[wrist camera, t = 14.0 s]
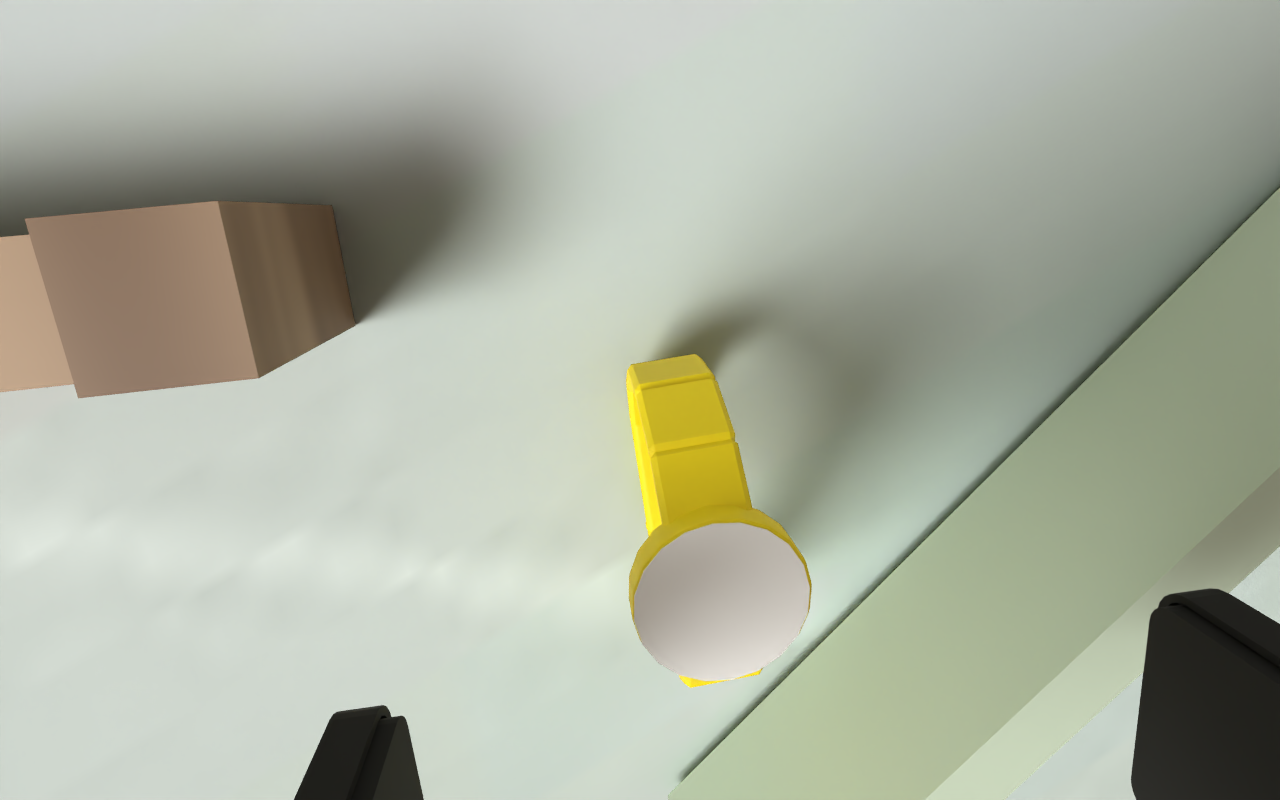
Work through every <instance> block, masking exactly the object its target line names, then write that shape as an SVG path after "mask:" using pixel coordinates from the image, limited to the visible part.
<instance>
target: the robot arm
mask: <svg viewBox="0 0 1280 800" xmlns="http://www.w3.org/2000/svg"><path fill="white" fill-rule="evenodd" d="M1131 784H1132V788H1133V792H1134V795H1135V797H1136V800H1280V624H1279V623H1277V622H1275V621H1274V620H1272V619H1270V618H1269V617H1267V616H1265V615H1264V614H1262V613H1260V612H1259V611H1257V610H1255V609H1254V608H1252V607H1250V606H1249V605H1247V604H1245V603H1244V602H1242V601H1240V600H1239V599H1237V598H1235V597H1234V596H1232V595H1230V594H1229V593H1227V592H1224V591H1222V590H1220V589H1212V588H1209V589H1201V590H1194V591H1187V592H1180V593H1173V594H1169V595H1167V596H1164V597H1163V598H1162V600H1161V601H1160V602H1159V606H1158V608H1157V609H1155V610H1154V611H1153V612H1152V613H1151V616H1150V620H1149V628H1148V637H1147V646H1146V654H1145V663H1144V672H1143V680H1142V689H1141V697H1140V706H1139V715H1138V723H1137V732H1136V741H1135V749H1134V758H1133V767H1132V775H1131ZM294 800H424V799H423V794H422V789H421V785H420V780H419V776H418V771H417V766H416V762H415V757H414V752H413V748H412V743H411V738H410V734H409V729H408V725H407V721H406V719H405V717H403V716H397V717H391V714H390V711H389V710H388V708H387V707H386V706H384V705H382V706H375V707H368V708H361V709H353V710H346V711H339V712H336V713H335V714H333V716H332V717H331V719H330V720H329V723H328V725H327V727H326V729H325V732H324V734H323V736H322V738H321V740H320V743H319V745H318V747H317V749H316V752H315V754H314V756H313V758H312V760H311V763H310V765H309V767H308V769H307V772H306V774H305V776H304V778H303V781H302V783H301V785H300V787H299V789H298V792H297V794H296V796H295V798H294Z"/></svg>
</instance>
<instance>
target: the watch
mask: <svg viewBox="0 0 1280 800" xmlns="http://www.w3.org/2000/svg"><path fill="white" fill-rule="evenodd" d="M626 383H627V384H626V385H627V395H628V405H629V415H630V421H631V427H632V433H633V440H634V446H635V452H636V459H637V465H638V471H639V478H640V484H641V490H642V497H643V503H644V509H645V516H646V528H647V529H648V536H649V537H648V538H647V540H646V541H645V542H644V543H643V545H642V546H641V547H640V549H639V550H638V552H637V555H636V558H635V561H634V563H633V566H632V569H631V571H630V576H629V601H630V607H631V613H632V619H633V622H634V625H635V627H636V630H637V633H638V636H639V638H640V640H641V642H642V644H643V646H644V647H645V648H646V649H647V650H648V651H649V653H650V654H651V655H652V656H653V657H654V658H655V660H656V661H657V662H658V663H659V664H661V665H663V666H665V667H666V668H668V669H670V670H671V671H673V672H675V673H677V674H678V675H679V677H680V679H681V680H682V681H683V682H684V683H685V684H686V685H687V686H689V687H690V688H691V687H697V686H702V685H707V684H712V683H717V682H722V681H727V680H733V679H738V678H743V677H748V676H753V675H758V674H760V672H761V670H762V669H763V667H765V666H766V665H768V664H769V663H771V662H772V661H774V660H775V659H777V658H778V657H780V656H781V655H782V654H783V652H784V651H785V650H786V649H787V648H788V647H789V645H790V644H791V643H792V642H793V641H794V640H795V639H796V637H797V636H798V634H799V633H800V631H801V628H802V626H803V624H804V622H805V619H806V617H807V615H808V612H809V609H810V599H811V579H810V576H809V572H808V568H807V564H806V561H805V559H804V557H803V556H802V554H801V553H800V551H799V550H798V548H797V547H796V545H795V544H794V542H793V541H792V539H791V538H790V537H789V535H788V534H787V533H786V531H785V530H784V528H783V527H782V526H781V525H780V524H779V523H778V522H776V521H775V520H773V519H772V518H770V517H769V516H767V515H766V514H764V513H763V512H761V511H760V510H757V509H754V508H752V505H751V500H750V496H749V491H748V487H747V482H746V478H745V474H744V469H743V465H742V460H741V456H740V451H739V447H738V443H736V442H735V432H734V429H733V426H732V424H731V421H730V418H729V415H728V412H727V409H726V406H725V403H724V400H723V397H722V394H721V391H720V388H719V386H718V383H717V381H715V376H714V375H713V373H712V372H711V371H710V369H709V368H708V367H707V365H706V364H705V362H704V361H703V360H702V358H700V357H699V356H698V355H696V354H691V355H685V356H679V357H673V358H667V359H661V360H655V361H649V362H643V363H637V364H631V366H630V367H629V368H628V370H627V378H626Z"/></svg>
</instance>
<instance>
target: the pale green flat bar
mask: <svg viewBox="0 0 1280 800" xmlns="http://www.w3.org/2000/svg"><path fill="white" fill-rule="evenodd" d="M1279 546H1280V188H1279V189H1278V190H1277V191H1276V192H1275V193H1274V194H1273V195H1272V196H1271V197H1270V198H1269V199H1268V200H1267V201H1266V202H1265V203H1264V204H1263V205H1262V206H1261V207H1260V208H1259V209H1258V210H1257V211H1256V212H1255V213H1254V214H1253V215H1252V216H1251V217H1250V218H1249V219H1248V220H1247V221H1246V222H1245V223H1244V224H1243V225H1242V226H1241V227H1240V228H1239V229H1238V230H1237V231H1236V232H1235V233H1234V234H1233V235H1232V236H1231V237H1230V238H1229V239H1228V240H1227V241H1226V242H1225V243H1224V244H1222V245H1221V246H1220V247H1219V248H1218V249H1217V250H1216V251H1215V252H1214V253H1213V254H1212V255H1211V256H1210V257H1209V258H1208V259H1207V260H1206V261H1205V262H1204V263H1203V264H1202V265H1201V266H1200V267H1199V268H1198V269H1197V270H1196V271H1195V272H1194V273H1193V274H1192V275H1191V276H1190V277H1189V278H1188V279H1187V280H1186V281H1185V282H1184V283H1183V284H1182V285H1181V286H1180V287H1179V288H1178V289H1177V290H1176V291H1175V292H1174V293H1173V294H1172V295H1171V296H1170V297H1169V298H1168V299H1167V300H1166V301H1165V302H1164V303H1163V304H1162V305H1161V306H1160V307H1159V308H1158V309H1157V310H1156V311H1155V312H1154V313H1153V314H1152V315H1151V316H1150V317H1149V318H1148V319H1147V320H1146V321H1145V322H1144V323H1143V324H1142V325H1141V326H1140V327H1139V328H1138V329H1137V330H1136V331H1135V332H1134V333H1133V334H1132V335H1131V336H1130V337H1129V338H1128V339H1127V340H1126V341H1125V342H1124V343H1123V344H1122V345H1121V346H1120V347H1119V348H1118V349H1117V350H1116V351H1115V352H1114V353H1113V354H1112V355H1111V356H1110V357H1109V358H1108V359H1107V360H1106V361H1105V362H1104V363H1103V364H1102V365H1101V366H1100V367H1099V368H1098V369H1097V370H1096V371H1095V372H1094V373H1093V374H1092V375H1091V376H1090V377H1089V378H1088V379H1087V380H1086V381H1085V382H1084V383H1083V384H1082V385H1081V386H1080V387H1079V388H1078V389H1077V390H1076V391H1075V392H1073V393H1072V394H1071V395H1070V396H1069V397H1068V398H1067V399H1066V400H1065V401H1064V402H1063V403H1062V404H1061V405H1060V406H1059V407H1058V408H1057V409H1056V410H1055V411H1054V412H1053V413H1052V414H1051V415H1050V416H1049V417H1048V418H1047V419H1046V420H1045V421H1044V422H1043V423H1042V424H1041V425H1040V426H1039V427H1038V428H1037V429H1036V430H1035V431H1034V432H1033V433H1032V434H1031V435H1030V436H1029V437H1028V438H1027V439H1026V440H1025V441H1024V442H1023V443H1022V444H1021V445H1020V446H1019V447H1018V448H1017V449H1016V450H1015V451H1014V452H1013V453H1012V454H1011V455H1010V456H1009V457H1008V458H1007V459H1006V460H1005V461H1004V462H1003V463H1002V464H1001V465H1000V466H999V467H998V468H997V469H996V470H995V471H994V472H993V473H992V474H991V475H990V476H989V477H988V478H987V479H986V480H985V481H984V482H983V483H982V484H981V485H980V486H979V487H978V488H977V489H976V490H975V491H974V492H973V493H972V494H971V495H970V496H969V497H968V498H967V499H966V500H965V501H964V502H963V503H962V504H961V505H960V506H959V507H958V508H957V509H956V510H955V511H954V512H953V513H952V514H951V515H950V516H949V517H948V518H947V519H946V520H945V521H944V522H943V523H942V524H941V525H940V526H939V527H938V528H937V529H936V530H935V531H934V532H933V533H932V534H931V535H930V536H929V537H928V538H927V539H926V540H925V541H923V542H922V543H921V544H920V545H919V546H918V547H917V548H916V549H915V550H914V551H913V552H912V553H911V554H910V555H909V556H908V557H907V558H906V559H905V560H904V561H903V562H902V563H901V564H900V565H899V566H898V567H897V568H896V569H895V570H894V571H893V572H892V573H891V574H890V575H889V576H888V577H887V578H886V579H885V580H884V581H883V582H882V583H881V584H880V585H879V586H878V587H877V588H876V589H875V590H874V591H873V592H872V593H871V594H870V595H869V596H868V597H867V598H866V599H865V600H864V601H863V602H862V603H861V604H860V605H859V606H858V607H857V608H856V609H855V610H854V611H853V612H852V613H851V614H850V615H849V616H848V617H847V618H846V619H845V620H844V621H843V622H842V623H841V624H840V625H839V626H838V627H837V628H836V629H835V630H834V631H833V632H832V633H831V634H830V635H829V636H828V637H827V638H826V639H825V640H824V641H823V642H822V643H821V644H820V645H819V646H818V647H817V648H816V649H815V650H814V651H813V652H812V653H811V654H810V655H809V656H808V657H807V658H806V659H805V660H804V661H803V662H802V663H801V664H800V665H799V666H798V667H797V668H796V669H795V670H794V671H793V672H792V673H791V674H790V675H789V676H788V677H787V678H786V679H785V680H784V681H783V682H782V683H781V684H780V685H779V686H778V687H777V688H776V689H774V690H773V691H772V692H771V693H770V694H769V695H768V696H767V697H766V698H765V699H764V700H763V701H762V702H761V703H760V704H759V705H758V706H757V707H756V708H755V709H754V710H753V711H752V712H751V713H750V714H749V715H748V716H747V717H746V718H745V719H744V720H743V721H742V722H741V723H740V724H739V725H738V726H737V727H736V728H735V729H734V730H733V731H732V732H731V733H730V734H729V735H728V736H727V737H726V738H725V739H724V740H723V741H722V742H721V743H720V744H719V745H718V746H717V747H716V748H715V749H714V750H713V751H712V752H711V753H710V754H709V755H708V756H707V757H706V758H705V759H704V760H703V761H702V762H701V763H700V764H699V765H698V766H697V767H696V768H695V769H694V770H693V771H692V772H691V773H690V774H689V775H688V776H687V777H686V778H685V779H684V780H683V781H682V782H681V783H680V784H679V785H678V786H677V787H676V788H675V789H674V790H673V791H672V792H671V793H670V794H669V795H668V799H669V800H1005V799H1006V798H1007V797H1008V796H1009V795H1010V794H1011V793H1012V792H1013V791H1015V790H1016V789H1017V788H1018V787H1019V786H1020V785H1021V784H1022V783H1023V782H1024V781H1025V780H1027V779H1028V778H1029V777H1030V776H1031V775H1032V774H1033V773H1034V772H1035V771H1036V770H1037V769H1038V768H1040V767H1041V766H1042V765H1043V764H1044V763H1045V762H1046V761H1047V760H1048V759H1049V758H1050V757H1051V756H1053V755H1054V754H1055V753H1056V752H1057V751H1058V750H1059V749H1060V748H1061V747H1062V746H1063V745H1064V744H1066V743H1067V742H1068V741H1069V740H1070V739H1071V738H1072V737H1073V736H1074V735H1075V734H1076V733H1078V732H1079V731H1080V730H1081V729H1082V728H1083V727H1084V726H1085V725H1086V724H1087V723H1088V722H1089V721H1091V720H1092V719H1093V718H1094V717H1095V716H1096V715H1097V714H1098V713H1099V712H1100V711H1101V710H1102V709H1104V708H1105V707H1106V706H1107V705H1108V704H1109V703H1110V702H1111V701H1112V700H1113V699H1114V698H1116V697H1117V696H1118V695H1119V694H1120V693H1121V692H1122V691H1123V690H1124V689H1125V688H1126V687H1127V686H1129V685H1130V684H1131V683H1132V682H1133V681H1134V680H1135V679H1136V678H1137V677H1138V676H1139V675H1140V674H1142V673H1143V672H1144V663H1145V654H1146V646H1147V637H1148V628H1149V620H1150V616H1151V613H1152V612H1153V611H1154V610H1155V609H1157V608H1158V606H1159V602H1160V601H1161V600H1162V598H1163V597H1164V596H1167V595H1169V594H1173V593H1180V592H1187V591H1194V590H1201V589H1209V588H1212V589H1220V590H1222V591H1224V592H1227V593H1229V592H1231V591H1232V590H1233V589H1234V588H1235V587H1236V586H1237V585H1238V584H1239V583H1240V582H1241V581H1242V580H1244V579H1245V578H1246V577H1247V576H1248V575H1249V574H1250V573H1251V572H1252V571H1253V570H1254V569H1255V568H1257V567H1258V566H1259V565H1260V564H1261V563H1262V562H1263V561H1264V560H1265V559H1266V558H1267V557H1269V556H1270V555H1271V554H1272V553H1273V552H1274V551H1275V550H1276V549H1277V548H1278V547H1279Z"/></svg>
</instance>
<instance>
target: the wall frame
mask: <svg viewBox="0 0 1280 800" xmlns="http://www.w3.org/2000/svg"><path fill="white" fill-rule="evenodd" d="M25 222H26V225H27V229H28V232H29V235H19V236H8V237H0V392H6V391H16V390H25V389H34V388H43V387H52V386H61V385H70V384H74V385H75V389H76V392H77V395H78V398H85V397H94V396H103V395H112V394H121V393H130V392H139V391H148V390H157V389H166V388H175V387H184V386H193V385H202V384H211V383H220V382H229V381H238V380H247V379H256V378H260V377H262V376H264V375H265V374H267V373H269V372H271V371H273V370H275V369H276V368H278V367H280V366H282V365H284V364H286V363H288V362H289V361H291V360H293V359H295V358H297V357H299V356H300V355H302V354H304V353H306V352H308V351H310V350H311V349H313V348H315V347H317V346H319V345H321V344H322V343H324V342H326V341H328V340H330V339H332V338H334V337H335V336H337V335H339V334H341V333H343V332H345V331H346V330H348V329H350V328H352V327H354V326H355V321H354V316H353V311H352V306H351V300H350V295H349V290H348V285H347V280H346V275H345V270H344V265H343V259H342V254H341V249H340V244H339V239H338V234H337V229H336V223H335V218H334V213H333V208H332V205H311V204H286V203H260V202H234V201H210V202H199V203H189V204H178V205H167V206H156V207H145V208H134V209H124V210H113V211H102V212H91V213H80V214H70V215H59V216H48V217H37V218H26V219H25Z"/></svg>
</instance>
